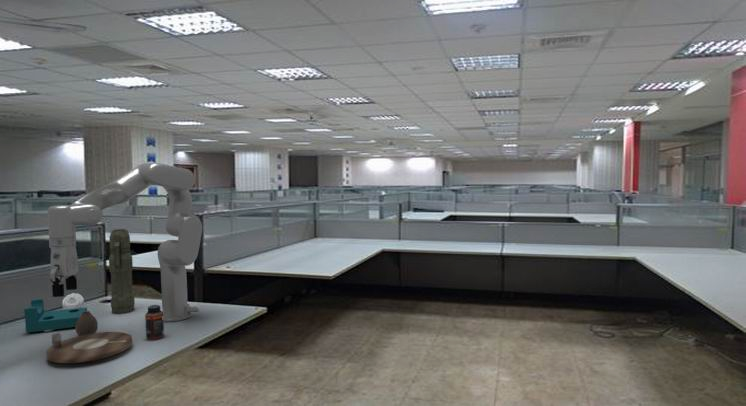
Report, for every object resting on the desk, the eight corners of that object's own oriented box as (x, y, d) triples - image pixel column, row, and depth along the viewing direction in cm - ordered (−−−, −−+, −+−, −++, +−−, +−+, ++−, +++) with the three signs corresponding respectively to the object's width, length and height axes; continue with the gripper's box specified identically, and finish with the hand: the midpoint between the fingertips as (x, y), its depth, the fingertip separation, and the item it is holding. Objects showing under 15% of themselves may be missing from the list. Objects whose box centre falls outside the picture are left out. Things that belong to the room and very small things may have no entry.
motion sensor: (60, 315, 199) (59, 296, 198) (64, 310, 206) (63, 292, 205) (83, 312, 202) (82, 294, 202) (86, 308, 209) (85, 290, 209)
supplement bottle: (168, 335, 171) (167, 304, 171) (155, 341, 166) (154, 309, 165) (155, 334, 173) (153, 303, 172) (142, 339, 168) (140, 307, 167)
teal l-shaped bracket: (26, 336, 175) (24, 309, 173) (34, 325, 184) (31, 299, 183) (83, 329, 182) (81, 303, 180) (87, 319, 192) (85, 294, 190)
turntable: (140, 333, 169) (140, 318, 169) (119, 359, 146) (118, 341, 145) (66, 339, 165) (65, 323, 164) (31, 366, 141) (30, 348, 141)
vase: (102, 332, 175) (101, 309, 175) (89, 339, 169) (88, 315, 168) (84, 332, 176) (83, 309, 176) (71, 339, 169) (70, 314, 169)
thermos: (109, 316, 196) (105, 231, 194) (112, 309, 207) (109, 229, 205) (133, 313, 200) (130, 230, 197) (135, 306, 210) (132, 227, 208)
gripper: (63, 245, 151) (66, 298, 152) (85, 238, 168) (87, 286, 169) (37, 246, 150) (39, 300, 151) (62, 239, 167) (64, 287, 168)
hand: (65, 292), depth 160 cm, fingers open, 9 cm apart
